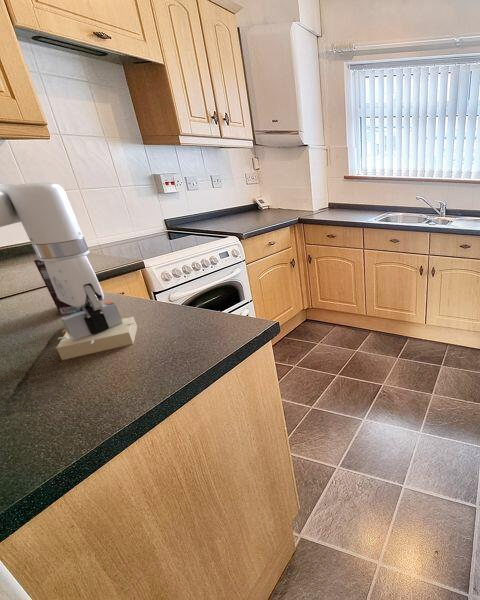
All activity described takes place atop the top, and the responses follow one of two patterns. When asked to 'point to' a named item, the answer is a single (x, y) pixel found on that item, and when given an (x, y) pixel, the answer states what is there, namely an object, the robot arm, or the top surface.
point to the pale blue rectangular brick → (79, 328)
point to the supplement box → (60, 305)
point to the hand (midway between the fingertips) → (97, 329)
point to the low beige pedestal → (99, 340)
